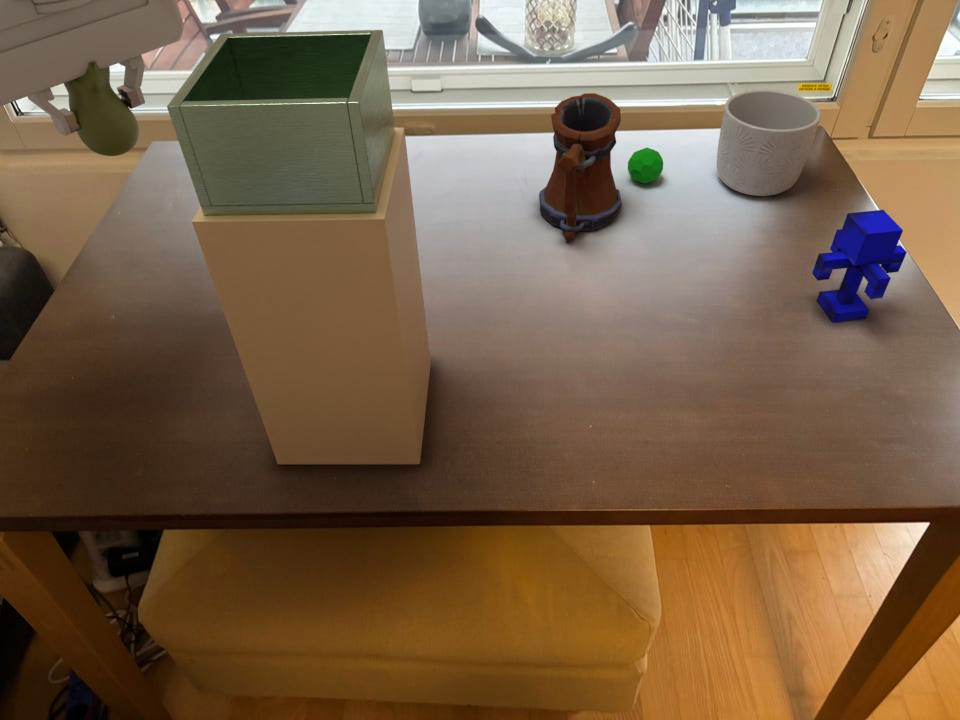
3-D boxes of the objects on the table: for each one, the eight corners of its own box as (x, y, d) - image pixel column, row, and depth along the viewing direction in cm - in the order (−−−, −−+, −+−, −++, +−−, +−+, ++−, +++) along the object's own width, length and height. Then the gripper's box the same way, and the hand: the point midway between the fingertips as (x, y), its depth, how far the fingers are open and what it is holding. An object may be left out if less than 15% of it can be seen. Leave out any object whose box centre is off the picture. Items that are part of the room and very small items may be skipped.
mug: (605, 267, 94) (616, 159, 84) (517, 254, 97) (517, 148, 86) (626, 193, 107) (638, 91, 96) (547, 183, 109) (551, 83, 99)
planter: (789, 160, 112) (809, 89, 104) (808, 205, 103) (831, 131, 95) (705, 159, 113) (718, 89, 105) (716, 203, 104) (732, 130, 96)
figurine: (884, 304, 87) (923, 216, 79) (863, 339, 83) (901, 251, 75) (819, 281, 91) (850, 195, 82) (796, 314, 86) (826, 226, 78)
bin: (277, 464, 73) (152, 111, 48) (305, 365, 83) (214, 30, 58) (419, 464, 72) (368, 107, 47) (430, 364, 82) (393, 25, 57)
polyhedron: (666, 186, 107) (670, 156, 104) (634, 191, 107) (637, 161, 103) (652, 169, 111) (656, 140, 108) (621, 174, 110) (624, 144, 107)
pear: (97, 141, 75) (55, 40, 68) (151, 136, 76) (114, 35, 69) (82, 168, 71) (36, 64, 64) (139, 163, 72) (99, 59, 65)
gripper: (-76, 0, 54) (12, 172, 64) (167, -66, 65) (211, 88, 75) (-111, -15, 57) (-22, 151, 67) (127, -75, 68) (174, 74, 78)
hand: (103, 117), depth 71 cm, fingers closed on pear, 5 cm apart
